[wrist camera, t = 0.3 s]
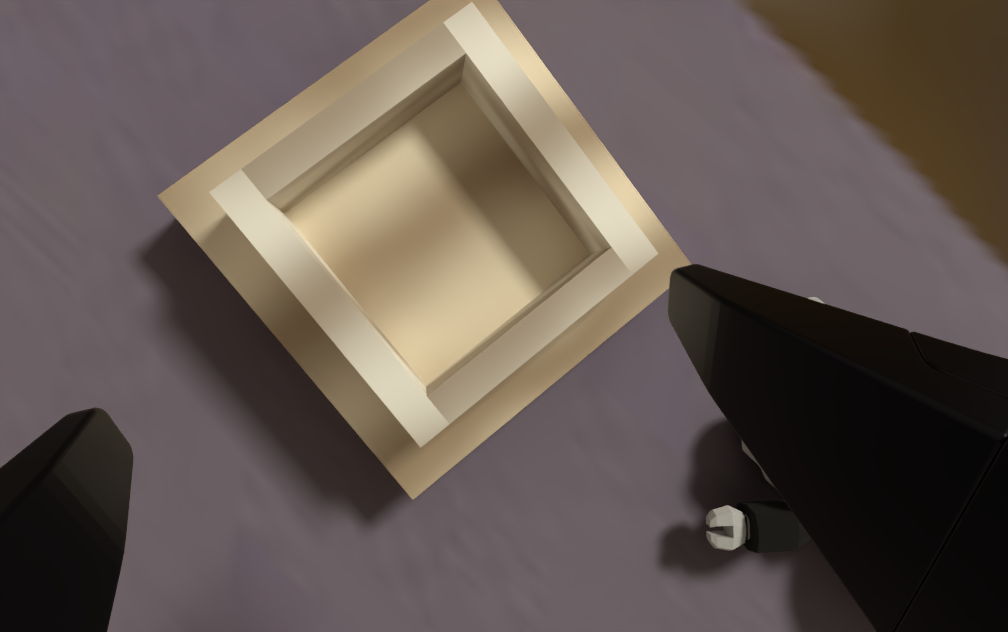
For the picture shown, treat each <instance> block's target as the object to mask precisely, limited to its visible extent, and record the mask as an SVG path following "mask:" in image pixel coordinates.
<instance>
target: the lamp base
mask: <svg viewBox="0 0 1008 632" xmlns="http://www.w3.org/2000/svg"><path fill="white" fill-rule="evenodd" d="M158 197H159V199H160V200H161V201H162V202H163V203H164V204H165V206H166V207H167V208H168V209H169V210H170V212H171V213H172V214H173V215H174V216H175V218H176V219H177V220H178V221H179V222H180V223H181V225H182V226H183V227H184V228H185V229H186V231H187V232H188V233H189V234H190V235H191V237H192V238H193V239H194V240H195V241H196V243H197V244H198V245H199V246H200V247H201V248H202V250H203V251H204V252H205V253H206V254H207V256H208V257H209V258H210V259H211V260H212V262H213V263H214V264H215V265H216V266H217V268H218V269H219V270H220V271H221V272H222V273H223V275H224V276H225V277H226V278H227V279H228V281H229V282H230V283H231V284H232V285H233V287H234V288H235V289H236V290H237V291H238V292H239V294H240V295H241V296H242V297H243V298H244V300H245V301H246V302H247V303H248V304H249V306H250V307H251V308H252V309H253V310H254V312H255V313H256V314H257V315H258V316H259V317H260V319H261V320H262V321H263V322H264V323H265V325H266V326H267V327H268V328H269V329H270V331H271V332H272V333H273V334H274V335H275V336H276V338H277V339H278V340H279V341H280V342H281V344H282V345H283V346H284V347H285V348H286V350H287V351H288V352H289V353H290V354H291V356H292V357H293V358H294V359H295V360H296V361H297V363H298V364H299V365H300V366H301V367H302V369H303V370H304V371H305V372H306V373H307V375H308V376H309V377H310V378H311V379H312V381H313V382H314V383H315V384H316V385H317V386H318V388H319V389H320V390H321V391H322V392H323V394H324V395H325V396H326V397H327V398H328V400H329V401H330V402H331V403H332V404H333V405H334V407H335V408H336V409H337V410H338V411H339V413H340V414H341V415H342V416H343V417H344V419H345V420H346V421H347V422H348V423H349V425H350V426H351V427H352V428H353V429H354V430H355V432H356V433H357V434H358V435H359V436H360V438H361V439H362V440H363V441H364V442H365V444H366V445H367V446H368V447H369V448H370V449H371V451H372V452H373V453H374V454H375V455H376V457H377V458H378V459H379V460H380V461H381V463H382V464H383V465H384V466H385V467H386V469H387V470H388V471H389V472H390V473H391V474H392V476H393V477H394V478H395V479H396V480H397V482H398V483H399V484H400V485H401V486H402V488H403V489H404V490H405V491H406V492H407V494H408V495H409V496H410V497H411V498H412V499H415V498H416V497H417V496H418V495H419V494H421V493H422V492H423V491H424V490H425V489H427V488H428V487H429V486H430V485H431V484H433V483H434V482H435V481H436V480H437V479H439V478H440V477H441V476H442V475H444V474H445V473H446V472H447V471H448V470H450V469H451V468H452V467H453V466H454V465H456V464H457V463H458V462H459V461H460V460H462V459H463V458H464V457H465V456H466V455H468V454H469V453H470V452H471V451H472V450H474V449H475V448H476V447H477V446H479V445H480V444H481V443H482V442H483V441H485V440H486V439H487V438H488V437H489V436H491V435H492V434H493V433H494V432H495V431H497V430H498V429H499V428H500V427H501V426H503V425H504V424H505V423H506V422H508V421H509V420H510V419H511V418H512V417H514V416H515V415H516V414H517V413H518V412H520V411H521V410H522V409H523V408H524V407H526V406H527V405H528V404H529V403H530V402H532V401H533V400H534V399H535V398H537V397H538V396H539V395H540V394H541V393H543V392H544V391H545V390H546V389H547V388H549V387H550V386H551V385H552V384H553V383H555V382H556V381H557V380H558V379H559V378H561V377H562V376H563V375H564V374H566V373H567V372H568V371H569V370H570V369H572V368H573V367H574V366H575V365H576V364H578V363H579V362H580V361H581V360H582V359H584V358H585V357H586V356H587V355H588V354H590V353H591V352H592V351H593V350H594V349H596V348H597V347H598V346H599V345H601V344H602V343H603V342H604V341H605V340H607V339H608V338H609V337H610V336H611V335H613V334H614V333H615V332H616V331H617V330H619V329H620V328H621V327H622V326H623V325H625V324H626V323H627V322H628V321H630V320H631V319H632V318H633V317H634V316H636V315H637V314H638V313H639V312H640V311H642V310H643V309H644V308H645V307H646V306H648V305H649V304H650V303H651V302H652V301H654V300H655V299H656V298H657V297H659V296H660V295H661V294H662V293H663V292H665V291H666V290H667V289H668V288H669V282H670V275H671V272H672V271H673V270H674V269H676V268H679V267H683V266H687V265H691V264H690V262H689V261H688V259H687V258H686V257H685V255H684V254H683V253H682V251H681V250H680V249H679V247H678V246H677V244H676V243H675V242H674V240H673V239H672V238H671V236H670V235H669V234H668V232H667V231H666V229H665V228H664V227H663V225H662V224H661V223H660V221H659V220H658V219H657V217H656V216H655V215H654V213H653V212H652V210H651V209H650V208H649V206H648V205H647V204H646V202H645V201H644V200H643V198H642V197H641V195H640V194H639V193H638V191H637V190H636V189H635V187H634V186H633V185H632V183H631V182H630V181H629V179H628V178H627V176H626V175H625V174H624V172H623V171H622V170H621V168H620V167H619V166H618V164H617V163H616V161H615V160H614V159H613V157H612V156H611V155H610V153H609V152H608V151H607V149H606V148H605V146H604V145H603V144H602V142H601V141H600V140H599V138H598V137H597V136H596V134H595V133H594V132H593V130H592V129H591V127H590V126H589V125H588V123H587V122H586V121H585V119H584V118H583V117H582V115H581V114H580V112H579V111H578V110H577V108H576V107H575V106H574V104H573V103H572V102H571V100H570V99H569V98H568V96H567V95H566V93H565V92H564V91H563V89H562V88H561V87H560V85H559V84H558V83H557V81H556V80H555V78H554V77H553V76H552V74H551V73H550V72H549V70H548V69H547V68H546V66H545V65H544V63H543V62H542V61H541V59H540V58H539V57H538V55H537V54H536V53H535V51H534V50H533V49H532V47H531V46H530V44H529V43H528V42H527V40H526V39H525V38H524V36H523V35H522V34H521V32H520V31H519V29H518V28H517V27H516V25H515V24H514V23H513V21H512V20H511V19H510V17H509V16H508V14H507V13H506V12H505V10H504V9H503V8H502V6H501V5H500V4H499V2H498V1H497V0H430V1H428V2H427V3H425V4H424V5H423V6H421V7H420V8H418V9H417V10H416V11H414V12H413V13H411V14H410V15H409V16H407V17H406V18H404V19H403V20H402V21H400V22H399V23H397V24H396V25H395V26H393V27H392V28H391V29H389V30H388V31H386V32H385V33H384V34H382V35H381V36H379V37H378V38H377V39H375V40H374V41H372V42H371V43H370V44H368V45H367V46H365V47H364V48H363V49H361V50H360V51H358V52H357V53H356V54H354V55H353V56H351V57H350V58H349V59H347V60H346V61H345V62H343V63H342V64H340V65H339V66H338V67H336V68H335V69H333V70H332V71H331V72H329V73H328V74H326V75H325V76H324V77H322V78H321V79H319V80H318V81H317V82H315V83H314V84H312V85H311V86H310V87H308V88H307V89H306V90H304V91H303V92H301V93H300V94H299V95H297V96H296V97H294V98H293V99H292V100H290V101H289V102H287V103H286V104H285V105H283V106H282V107H280V108H279V109H278V110H276V111H275V112H273V113H272V114H271V115H269V116H268V117H266V118H265V119H264V120H262V121H261V122H260V123H258V124H257V125H255V126H254V127H253V128H251V129H250V130H248V131H247V132H246V133H244V134H243V135H241V136H240V137H239V138H237V139H236V140H234V141H233V142H232V143H230V144H229V145H227V146H226V147H225V148H223V149H222V150H220V151H219V152H218V153H216V154H215V155H214V156H212V157H211V158H209V159H208V160H207V161H205V162H204V163H202V164H201V165H200V166H198V167H197V168H195V169H194V170H193V171H191V172H190V173H188V174H187V175H186V176H184V177H183V178H181V179H180V180H179V181H177V182H176V183H175V184H173V185H172V186H170V187H169V188H168V189H166V190H165V191H163V192H162V193H161V194H159V195H158Z"/></svg>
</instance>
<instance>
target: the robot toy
mask: <svg viewBox="0 0 1008 632" xmlns="http://www.w3.org/2000/svg"><path fill="white" fill-rule="evenodd" d="M808 299H811V300H814V301H817V302H821V303H823V302H822V301H821V300H819V299H818V298H817V297H808ZM824 304H825V303H824ZM742 450H743V451H744V452H745V453H746V454H747V455H748V456H749V457H750V458H751V459H752V460H753V461H754V462H755V463H756V464H757V465H758V466H759V467H760V465H759V464H758V462H757V461H756V460H755V458H754V457H753V455H752V454H751V452H750V451H749V450H748V448H747V447H746V445H745V444H744V442H743V441H742ZM760 468H761V467H760ZM761 471H762V473H763V475H764V478H765V480H767V481H768V482H769V483H770V484H771V485H772V486H773V487H774V485H773V484H772V482H771V481H770V479H769V478H768V477H767V475H766V474H765V472H764V471H763V470H762V468H761ZM774 488H775V487H774ZM775 489H776V488H775ZM706 524H707V525H709V527H710V528H711V527H716V526H723V530H719V531H706V537H707V539H708V541H709V543H710V544H711V545H712V546H713V547H714V548H716V549H722V550H727V551H730V550H734V549H736V548H737V547H739V546H740V545H742V544H744V546H745V547H746V548H747V549H748V550H750V551H753V552H757V553H760V552H776V551H793V550H798V549H800V548H801V547H802V546H803V545H805V544H806V543H807V542H808V541H810V540H811V538H810V536H809V535H808V534H807V532H806V531H805V529H804V528H803V526H802V525H801V524H800V522H799V521H798V519H797V518H796V516H795V515H794V514H793V512H792V511H791V509H790V508H789V507H788V505H787V504H786V502H782V501H761V502H743V503H738V504H737V509H735V508H732V507H730V506H728V505H727V506H723V507H720V508H716V509H713V510H710V511H709V513H708V515H707V516H706Z"/></svg>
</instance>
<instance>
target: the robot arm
mask: <svg viewBox="0 0 1008 632" xmlns="http://www.w3.org/2000/svg"><path fill="white" fill-rule="evenodd" d="M668 316H669V319H670V322H671V324H672V326H673V328H674V330H675V332H676V334H677V335H678V337H679V339H680V341H681V343H682V345H683V347H684V348H685V350H686V352H687V354H688V356H689V358H690V359H691V361H692V363H693V365H694V367H695V369H696V371H697V372H698V374H699V376H700V378H701V380H702V382H703V383H704V385H705V387H706V389H707V390H708V392H709V394H710V395H711V397H712V398H713V400H714V401H715V403H716V404H717V405H718V407H719V408H720V410H721V411H722V413H723V414H724V415H725V417H726V418H727V420H728V421H729V423H730V424H731V425H732V427H733V428H734V430H735V431H736V433H737V434H738V435H739V437H740V438H741V440H742V441H743V442H744V444H745V445H746V447H747V448H748V450H749V451H750V452H751V454H752V455H753V457H754V458H755V460H756V461H757V462H758V464H759V465H760V467H761V468H762V470H763V471H764V472H765V474H766V475H767V477H768V478H769V479H770V481H771V482H772V484H773V485H774V487H775V488H776V489H777V491H778V492H779V494H780V495H781V497H782V498H783V499H784V501H785V502H786V504H787V505H788V507H789V508H790V509H791V511H792V512H793V514H794V515H795V516H796V518H797V519H798V521H799V522H800V524H801V525H802V526H803V528H804V529H805V531H806V532H807V534H808V535H809V536H810V538H811V539H812V541H813V542H814V544H815V545H816V546H817V548H818V549H819V551H820V552H821V553H822V555H823V556H824V558H825V559H826V561H827V562H828V563H829V565H830V566H831V568H832V569H833V571H834V572H835V573H836V575H837V576H838V578H839V579H840V581H841V582H842V583H843V585H844V586H845V588H846V589H847V590H848V592H849V593H850V595H851V596H852V598H853V599H854V600H855V602H856V603H857V605H858V606H859V608H860V609H861V610H862V612H863V613H864V615H865V616H866V618H867V619H868V620H869V622H870V623H871V625H872V626H873V628H874V629H875V630H876V632H1008V359H1006V358H1002V357H999V356H995V355H991V354H987V353H984V352H980V351H977V350H973V349H970V348H967V347H963V346H960V345H956V344H953V343H950V342H946V341H943V340H940V339H936V338H933V337H930V336H927V335H924V334H921V333H917V332H911V333H909V331H908V330H907V329H904V328H901V327H898V326H895V325H891V324H888V323H885V322H882V321H878V320H875V319H872V318H869V317H866V316H862V315H859V314H856V313H853V312H850V311H846V310H843V309H840V308H837V307H833V306H830V305H827V304H824V303H821V302H817V301H814V300H811V299H808V298H805V297H801V296H798V295H795V294H792V293H788V292H785V291H782V290H779V289H776V288H772V287H769V286H766V285H763V284H760V283H756V282H753V281H750V280H747V279H744V278H740V277H737V276H734V275H731V274H728V273H724V272H721V271H718V270H715V269H712V268H708V267H705V266H702V265H699V264H692V265H687V266H683V267H679V268H676V269H674V270H673V271H672V272H671V275H670V282H669V297H668ZM132 468H133V453H132V449H131V446H130V444H129V443H128V441H127V440H126V438H125V437H124V436H123V434H122V433H121V432H120V430H119V429H118V427H117V426H116V425H115V423H114V422H113V420H112V419H111V418H110V416H109V415H108V414H107V413H106V412H105V411H104V410H103V409H100V408H91V409H87V410H83V411H78V412H74V413H70V414H68V415H66V416H65V417H63V418H62V419H61V420H59V421H58V422H57V423H56V424H54V425H53V426H52V427H51V428H50V429H48V430H47V431H46V432H45V433H43V434H42V435H41V436H40V437H38V438H37V439H36V440H35V441H33V442H32V443H31V444H30V445H28V446H27V447H26V448H25V449H23V450H22V451H21V452H20V453H18V454H17V455H16V456H15V457H14V458H12V459H11V460H10V461H9V462H7V463H6V464H5V465H4V466H2V467H1V468H0V632H107V630H108V625H109V620H110V616H111V611H112V607H113V602H114V598H115V593H116V589H117V584H118V579H119V575H120V570H121V565H122V560H123V555H124V548H125V541H126V532H127V521H128V511H129V500H130V489H131V479H132Z"/></svg>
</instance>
